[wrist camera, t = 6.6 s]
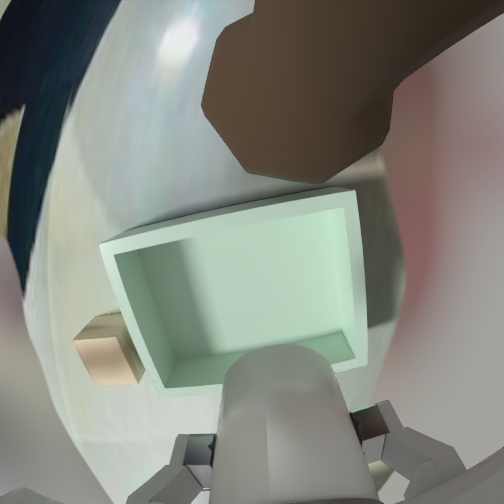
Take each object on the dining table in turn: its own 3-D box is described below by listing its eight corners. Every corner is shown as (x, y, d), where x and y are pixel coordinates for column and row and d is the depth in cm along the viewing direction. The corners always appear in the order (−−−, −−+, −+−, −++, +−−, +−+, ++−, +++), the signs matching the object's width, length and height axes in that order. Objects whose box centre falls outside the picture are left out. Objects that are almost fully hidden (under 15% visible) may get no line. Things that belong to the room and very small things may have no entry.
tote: (350, 334, 26) (367, 364, 21) (171, 365, 27) (158, 397, 22) (334, 186, 23) (355, 190, 18) (125, 230, 24) (98, 244, 19)
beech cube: (153, 353, 27) (138, 384, 22) (113, 356, 27) (94, 384, 22) (136, 310, 26) (115, 336, 21) (95, 315, 26) (72, 340, 21)
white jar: (333, 330, 11) (410, 500, 3) (338, 413, 12) (378, 547, 5) (206, 352, 11) (167, 532, 4) (235, 431, 13) (228, 569, 5)
